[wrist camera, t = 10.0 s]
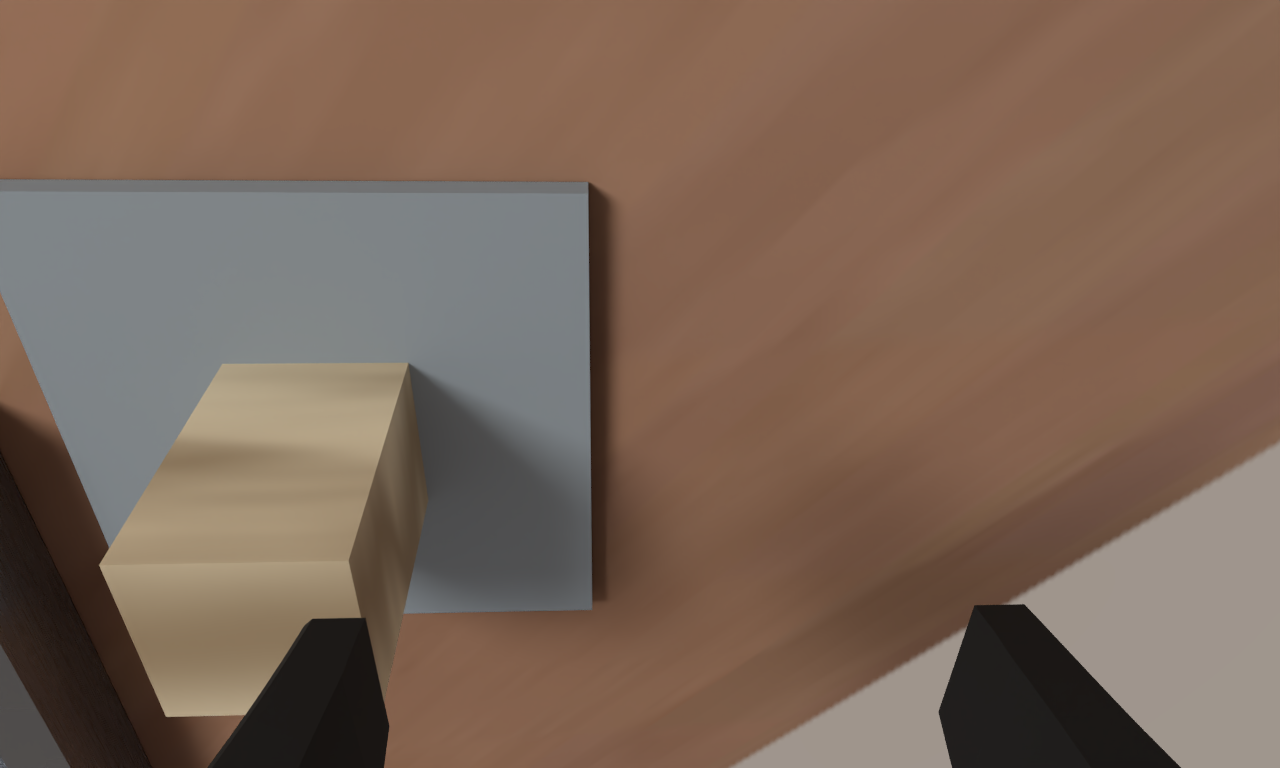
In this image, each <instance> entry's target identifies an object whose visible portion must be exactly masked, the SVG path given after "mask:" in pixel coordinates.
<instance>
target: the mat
mask: <svg viewBox="0 0 1280 768" xmlns="http://www.w3.org/2000/svg"><path fill="white" fill-rule="evenodd" d="M0 293H1V295H2V297H3V300H4V302H5V304H6V307H7V309H8V311H9V314H10V316H11V318H12V321H13V323H14V325H15V328H16V330H17V332H18V335H19V337H20V339H21V342H22V344H23V347H24V349H25V351H26V354H27V356H28V358H29V361H30V363H31V365H32V368H33V370H34V372H35V375H36V377H37V379H38V382H39V384H40V386H41V389H42V391H43V393H44V396H45V398H46V400H47V403H48V405H49V408H50V410H51V412H52V415H53V417H54V419H55V422H56V424H57V426H58V429H59V431H60V433H61V436H62V438H63V440H64V443H65V445H66V447H67V450H68V452H69V454H70V457H71V459H72V462H73V464H74V466H75V469H76V471H77V473H78V476H79V478H80V480H81V483H82V485H83V487H84V490H85V492H86V494H87V497H88V499H89V501H90V504H91V506H92V508H93V511H94V513H95V515H96V518H97V520H98V523H99V525H100V527H101V530H102V532H103V534H104V537H105V539H106V541H107V544H108V546H109V548H110V546H111V545H112V543H113V542H114V540H115V538H116V537H117V535H118V533H119V532H120V530H121V529H122V527H123V525H124V524H125V522H126V520H127V519H128V517H129V515H130V514H131V512H132V511H133V509H134V507H135V506H136V504H137V502H138V501H139V499H140V497H141V496H142V494H143V493H144V491H145V489H146V488H147V486H148V484H149V483H150V481H151V480H152V478H153V476H154V475H155V473H156V471H157V470H158V468H159V466H160V465H161V463H162V462H163V460H164V458H165V457H166V455H167V453H168V452H169V450H170V449H171V447H172V445H173V444H174V442H175V440H176V439H177V437H178V435H179V434H180V432H181V431H182V429H183V427H184V426H185V424H186V422H187V421H188V419H189V418H190V416H191V414H192V413H193V411H194V409H195V408H196V406H197V404H198V403H199V401H200V400H201V398H202V396H203V395H204V393H205V391H206V390H207V388H208V386H209V385H210V383H211V382H212V380H213V378H214V377H215V375H216V373H217V372H218V370H219V369H220V367H221V365H222V364H285V363H409V370H410V377H411V384H412V391H413V398H414V405H415V411H416V418H417V425H418V432H419V439H420V446H421V453H422V460H423V466H424V473H425V480H426V487H427V494H428V504H427V508H426V513H425V517H424V522H423V527H422V531H421V536H420V540H419V545H418V549H417V554H416V559H415V563H414V568H413V572H412V577H411V581H410V586H409V591H408V595H407V600H406V604H405V609H404V613H403V614H405V613H455V612H506V611H556V610H592V528H591V422H590V316H589V210H588V182H456V181H235V180H14V179H0Z"/></svg>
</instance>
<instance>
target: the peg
mask: <svg viewBox="0 0 1280 768" xmlns="http://www.w3.org/2000/svg"><path fill="white" fill-rule="evenodd" d="M427 504H428V494H427V487H426V480H425V473H424V466H423V460H422V453H421V446H420V439H419V432H418V425H417V418H416V411H415V405H414V398H413V391H412V384H411V377H410V370H409V363H285V364H222V365H221V367H220V369H219V370H218V372H217V373H216V375H215V377H214V378H213V380H212V382H211V383H210V385H209V386H208V388H207V390H206V391H205V393H204V395H203V396H202V398H201V400H200V401H199V403H198V404H197V406H196V408H195V409H194V411H193V413H192V414H191V416H190V418H189V419H188V421H187V422H186V424H185V426H184V427H183V429H182V431H181V432H180V434H179V435H178V437H177V439H176V440H175V442H174V444H173V445H172V447H171V449H170V450H169V452H168V453H167V455H166V457H165V458H164V460H163V462H162V463H161V465H160V466H159V468H158V470H157V471H156V473H155V475H154V476H153V478H152V480H151V481H150V483H149V484H148V486H147V488H146V489H145V491H144V493H143V494H142V496H141V497H140V499H139V501H138V502H137V504H136V506H135V507H134V509H133V511H132V512H131V514H130V515H129V517H128V519H127V520H126V522H125V524H124V525H123V527H122V529H121V530H120V532H119V533H118V535H117V537H116V538H115V540H114V542H113V543H112V545H111V546H110V548H109V550H108V551H107V553H106V555H105V556H104V558H103V560H102V561H101V563H100V564H99V566H100V569H101V571H102V573H103V575H104V578H105V580H106V582H107V584H108V587H109V589H110V591H111V593H112V596H113V598H114V600H115V603H116V605H117V607H118V609H119V612H120V614H121V616H122V618H123V621H124V623H125V625H126V627H127V630H128V632H129V634H130V636H131V639H132V641H133V643H134V645H135V648H136V650H137V652H138V654H139V657H140V659H141V661H142V663H143V666H144V668H145V670H146V673H147V675H148V677H149V679H150V682H151V684H152V686H153V688H154V691H155V693H156V695H157V697H158V700H159V702H160V704H161V706H162V709H163V711H164V713H165V715H166V717H184V716H223V715H246V713H247V712H248V710H249V709H250V707H251V706H252V705H253V703H254V702H255V700H256V699H257V697H258V696H259V694H260V693H261V691H262V690H263V688H264V687H265V685H266V684H267V683H268V681H269V680H270V678H271V676H272V675H273V673H274V672H275V670H276V669H277V667H278V666H279V664H280V663H281V661H282V660H283V658H284V657H285V655H286V654H287V652H288V650H289V649H290V647H291V646H292V644H293V643H294V641H295V639H296V638H297V636H298V635H299V633H300V632H301V630H302V628H303V627H304V625H306V624H307V623H308V622H309V621H310V620H311V619H322V618H366V622H367V626H368V631H369V636H370V640H371V645H372V649H373V654H374V659H375V663H376V668H377V672H378V677H379V681H380V686H381V691H382V695H383V700H385V696H386V691H387V687H388V682H389V677H390V673H391V668H392V664H393V659H394V655H395V650H396V645H397V641H398V636H399V632H400V627H401V623H402V618H403V613H404V609H405V604H406V600H407V595H408V591H409V586H410V581H411V577H412V572H413V568H414V563H415V559H416V554H417V549H418V545H419V540H420V536H421V531H422V527H423V522H424V517H425V513H426V508H427Z"/></svg>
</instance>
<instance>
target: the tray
mask: <svg viewBox="0 0 1280 768" xmlns="http://www.w3.org/2000/svg"><path fill="white" fill-rule="evenodd" d="M0 768H152V767H151V765H150V763H149V761H148V759H147V757H146V755H145V753H144V751H143V749H142V747H141V744H140V742H139V740H138V738H137V736H136V734H135V732H134V730H133V728H132V726H131V724H130V722H129V719H128V717H127V715H126V713H125V711H124V709H123V707H122V705H121V703H120V701H119V699H118V697H117V695H116V692H115V690H114V688H113V686H112V684H111V682H110V680H109V678H108V676H107V674H106V672H105V670H104V667H103V665H102V663H101V661H100V659H99V657H98V655H97V653H96V651H95V649H94V647H93V645H92V643H91V640H90V638H89V636H88V634H87V632H86V630H85V628H84V626H83V624H82V622H81V620H80V618H79V615H78V613H77V611H76V609H75V607H74V605H73V603H72V601H71V599H70V597H69V595H68V593H67V591H66V588H65V586H64V584H63V582H62V580H61V578H60V576H59V574H58V572H57V570H56V568H55V566H54V563H53V561H52V559H51V557H50V555H49V553H48V551H47V549H46V547H45V545H44V543H43V541H42V539H41V536H40V534H39V532H38V530H37V528H36V526H35V524H34V522H33V520H32V518H31V516H30V514H29V511H28V509H27V507H26V505H25V503H24V501H23V499H22V497H21V495H20V493H19V491H18V489H17V487H16V484H15V482H14V480H13V478H12V476H11V474H10V472H9V470H8V468H7V466H6V464H5V462H4V459H3V457H2V455H1V453H0Z"/></svg>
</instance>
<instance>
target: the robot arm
mask: <svg viewBox="0 0 1280 768" xmlns="http://www.w3.org/2000/svg"><path fill="white" fill-rule="evenodd" d="M939 715H940V720H941V724H942V728H943V732H944V736H945V741H946V745H947V749H948V753H949V757H950V761H951V765H952V768H1181V767H1180V766H1179V765H1178V764H1177V763H1176V762H1175V761H1174V760H1173V759H1172V758H1171V757H1170V756H1168V754H1167V753H1166V752H1165V751H1164V750H1163V749H1162V748H1161V747H1160V746H1159V745H1158V744H1157V743H1156V742H1155V741H1154V740H1153V739H1152V738H1151V737H1150V736H1149V735H1148V734H1147V733H1146V732H1145V731H1144V730H1143V729H1142V728H1141V727H1140V726H1139V725H1138V724H1137V723H1136V722H1135V721H1134V720H1133V719H1132V718H1131V717H1130V716H1129V715H1128V714H1127V713H1126V712H1125V711H1124V709H1123V708H1121V706H1120V705H1119V704H1118V703H1117V702H1116V701H1115V700H1114V699H1113V698H1112V697H1111V696H1110V695H1109V694H1108V693H1107V692H1106V691H1105V690H1104V689H1103V687H1102V686H1101V685H1100V684H1099V683H1098V682H1097V681H1096V680H1095V679H1094V678H1093V677H1092V676H1091V675H1090V674H1089V673H1088V672H1087V670H1086V669H1085V668H1084V667H1083V666H1082V665H1081V664H1080V663H1079V662H1078V661H1077V660H1076V659H1075V658H1074V657H1073V655H1072V654H1071V653H1070V652H1069V651H1068V650H1067V649H1066V648H1065V647H1064V646H1063V645H1062V644H1061V643H1060V642H1059V641H1058V640H1057V638H1056V637H1054V635H1053V634H1052V633H1051V632H1050V631H1049V630H1048V629H1047V628H1046V627H1045V626H1044V625H1043V624H1042V622H1041V621H1040V620H1039V619H1038V618H1037V617H1036V616H1035V615H1034V614H1033V613H1032V612H1031V611H1030V610H1029V609H1028V608H1027V607H1026V606H1025V605H1024V604H1022V605H975V606H974V609H973V612H972V615H971V618H970V620H969V623H968V626H967V629H966V632H965V636H964V638H963V641H962V644H961V647H960V650H959V653H958V656H957V659H956V662H955V665H954V668H953V671H952V674H951V677H950V680H949V683H948V686H947V689H946V692H945V694H944V697H943V700H942V703H941V706H940V709H939ZM388 732H389V723H388V718H387V714H386V709H385V704H384V700H383V695H382V691H381V686H380V681H379V677H378V672H377V668H376V663H375V659H374V654H373V649H372V645H371V640H370V636H369V631H368V626H367V622H366V618H322V619H311V620H310V621H309V622H308V623H307V624H306V625H304V627H303V628H302V630H301V632H300V633H299V635H298V636H297V638H296V639H295V641H294V643H293V644H292V646H291V647H290V649H289V650H288V652H287V654H286V655H285V657H284V658H283V660H282V661H281V663H280V664H279V666H278V667H277V669H276V670H275V672H274V673H273V675H272V676H271V678H270V680H269V681H268V683H267V684H266V685H265V687H264V688H263V690H262V691H261V693H260V694H259V696H258V697H257V699H256V700H255V702H254V703H253V705H252V706H251V707H250V709H249V710H248V712H247V713H246V715H245V716H244V718H243V719H242V721H241V722H240V723H239V725H238V726H237V728H236V729H235V731H234V732H233V733H232V735H231V736H230V738H229V739H228V740H227V742H226V743H225V744H224V746H223V747H222V748H221V750H220V751H219V753H218V754H217V755H216V757H215V758H214V759H213V761H212V762H211V764H210V765H209V766H208V768H384V762H385V755H386V747H387V740H388Z"/></svg>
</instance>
